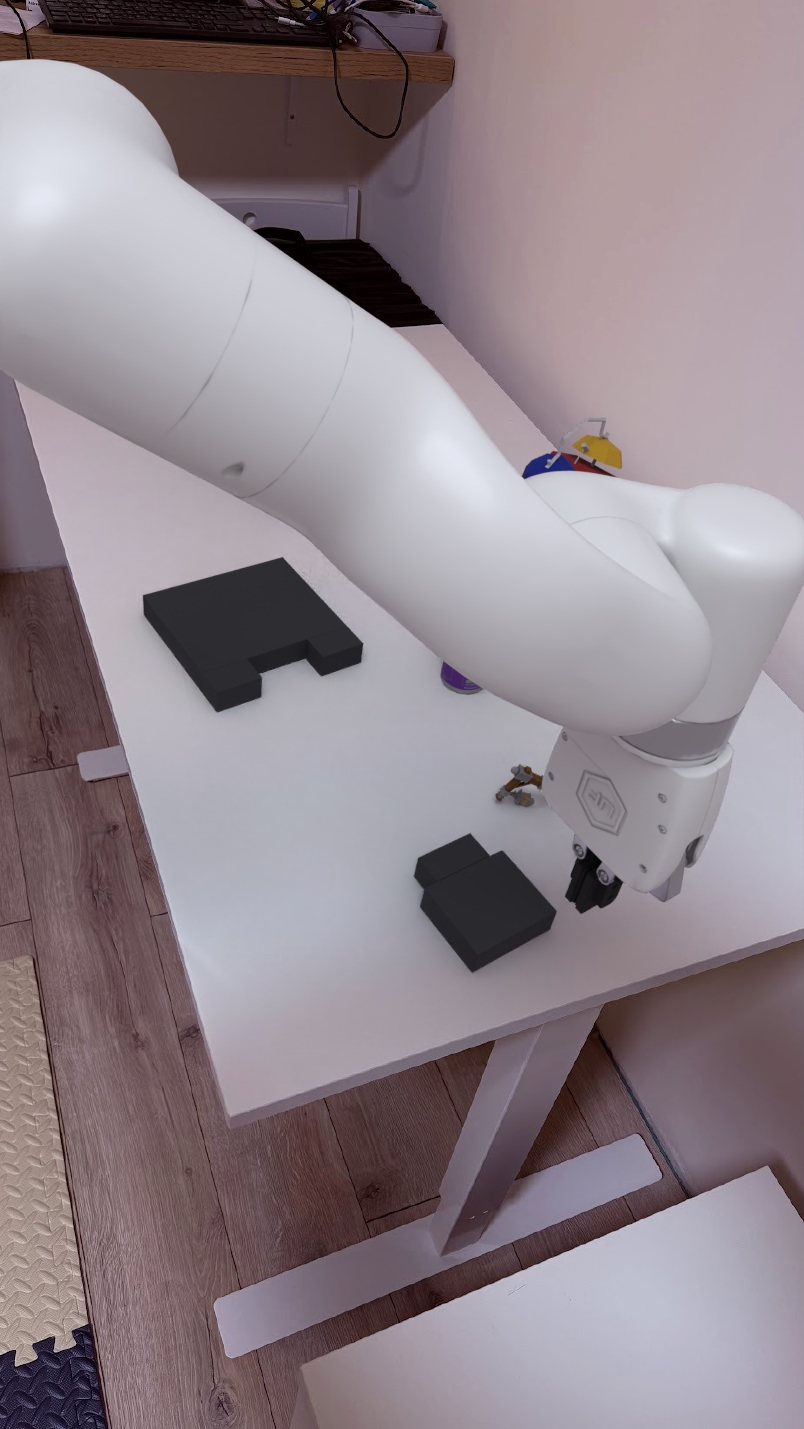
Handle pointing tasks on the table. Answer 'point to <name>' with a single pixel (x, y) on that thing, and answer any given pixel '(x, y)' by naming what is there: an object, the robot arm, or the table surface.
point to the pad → (480, 901)
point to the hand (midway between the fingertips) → (588, 897)
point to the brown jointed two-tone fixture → (520, 785)
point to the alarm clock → (587, 445)
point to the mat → (248, 629)
